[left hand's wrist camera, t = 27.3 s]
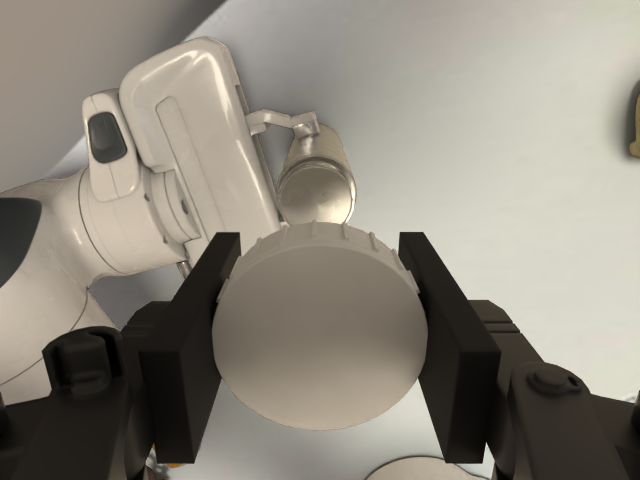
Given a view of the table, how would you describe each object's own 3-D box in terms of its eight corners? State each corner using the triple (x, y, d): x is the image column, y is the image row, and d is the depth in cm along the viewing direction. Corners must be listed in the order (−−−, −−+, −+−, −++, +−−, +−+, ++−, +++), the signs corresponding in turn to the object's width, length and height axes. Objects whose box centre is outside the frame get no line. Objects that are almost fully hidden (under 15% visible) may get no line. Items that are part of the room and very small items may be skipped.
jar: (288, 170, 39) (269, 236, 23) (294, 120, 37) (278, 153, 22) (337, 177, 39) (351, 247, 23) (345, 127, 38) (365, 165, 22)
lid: (300, 418, 13) (297, 464, 12) (181, 290, 12) (160, 323, 10) (453, 330, 12) (472, 367, 11) (344, 177, 11) (348, 194, 9)
